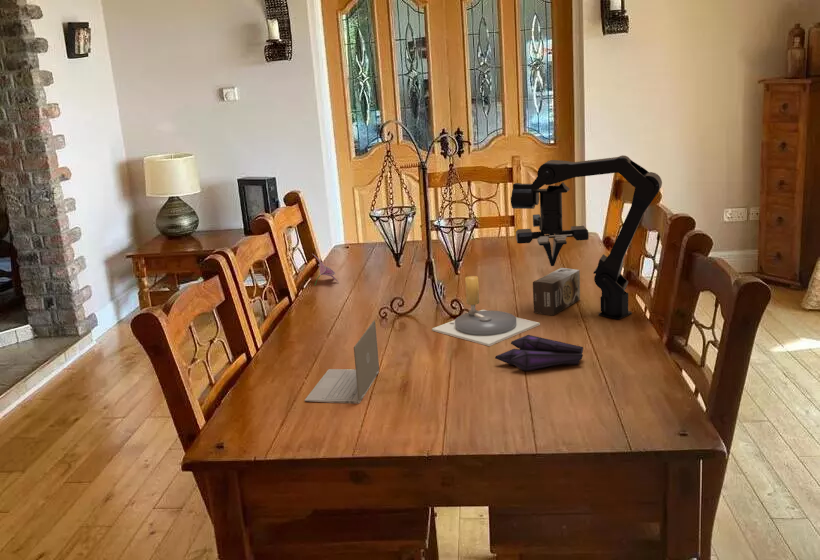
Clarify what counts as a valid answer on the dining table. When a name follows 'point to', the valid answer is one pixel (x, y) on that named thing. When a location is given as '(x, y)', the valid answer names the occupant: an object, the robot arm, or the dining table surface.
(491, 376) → the dining table surface
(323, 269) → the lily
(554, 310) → the coffee box
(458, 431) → the dining table surface
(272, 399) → the dining table surface
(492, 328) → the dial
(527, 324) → the panel
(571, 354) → the crystal
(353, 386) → the laptop
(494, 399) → the dining table surface
